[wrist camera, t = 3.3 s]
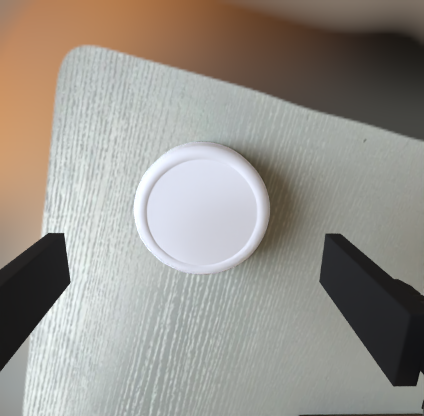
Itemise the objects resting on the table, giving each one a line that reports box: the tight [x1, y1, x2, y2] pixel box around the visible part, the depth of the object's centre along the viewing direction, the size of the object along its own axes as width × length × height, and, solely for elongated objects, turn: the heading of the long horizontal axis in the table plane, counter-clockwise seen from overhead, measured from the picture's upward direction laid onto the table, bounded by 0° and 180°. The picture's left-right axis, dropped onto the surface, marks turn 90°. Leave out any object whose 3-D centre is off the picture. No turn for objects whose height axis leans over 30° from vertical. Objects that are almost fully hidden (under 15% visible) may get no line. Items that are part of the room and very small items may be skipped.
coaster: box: [134, 142, 270, 275], centre depth 24 cm, size 10×10×4 cm
